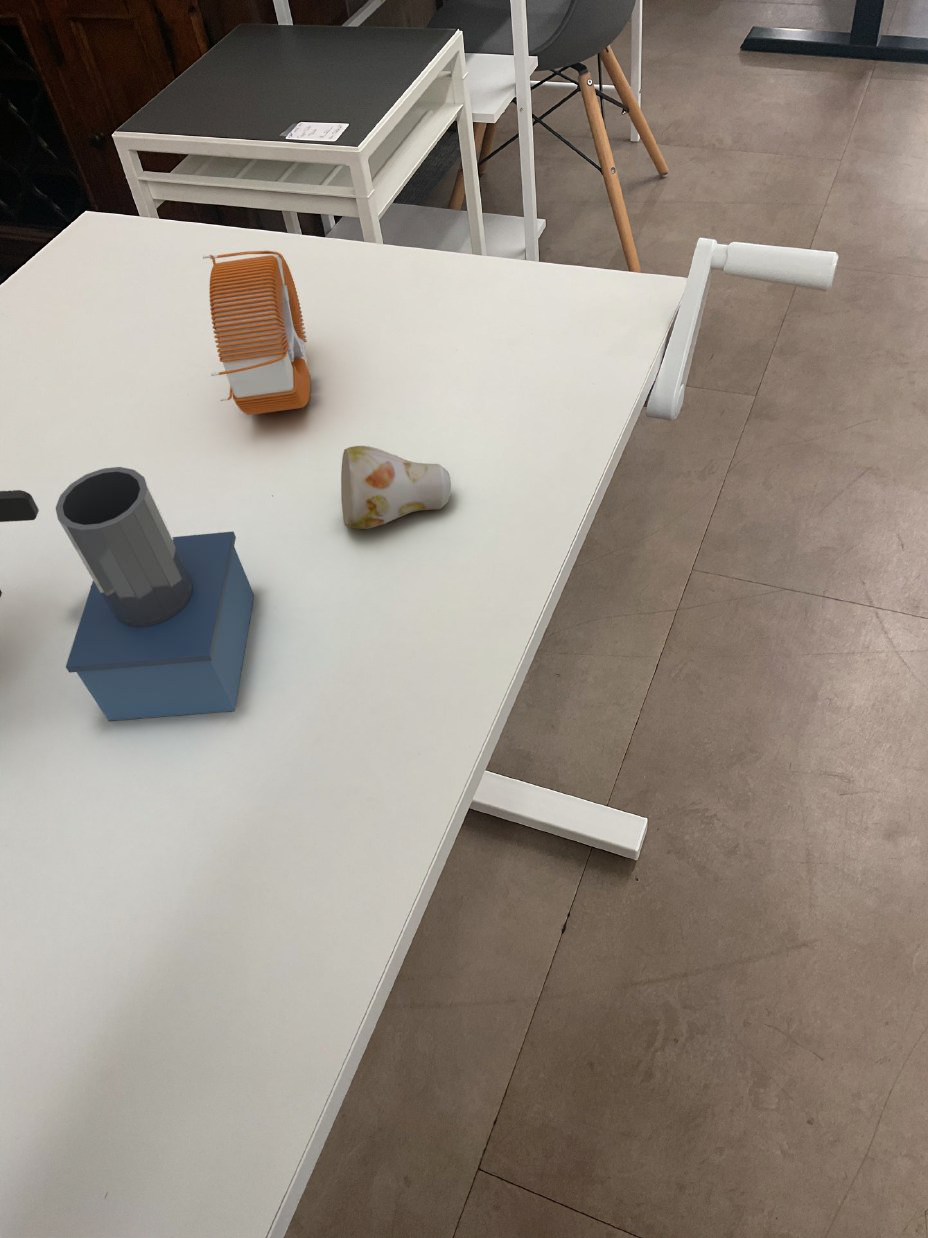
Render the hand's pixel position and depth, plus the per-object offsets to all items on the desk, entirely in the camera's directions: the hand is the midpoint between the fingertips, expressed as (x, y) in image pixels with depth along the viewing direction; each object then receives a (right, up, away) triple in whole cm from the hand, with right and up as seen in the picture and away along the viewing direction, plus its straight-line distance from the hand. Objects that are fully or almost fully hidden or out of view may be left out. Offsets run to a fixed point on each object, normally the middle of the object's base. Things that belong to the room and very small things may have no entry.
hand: (15, 545), depth 71 cm
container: (+9, -8, +10) cm, 16 cm away
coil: (+13, +17, +31) cm, 38 cm away
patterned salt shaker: (+26, +5, +19) cm, 32 cm away
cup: (+8, -3, +5) cm, 10 cm away
